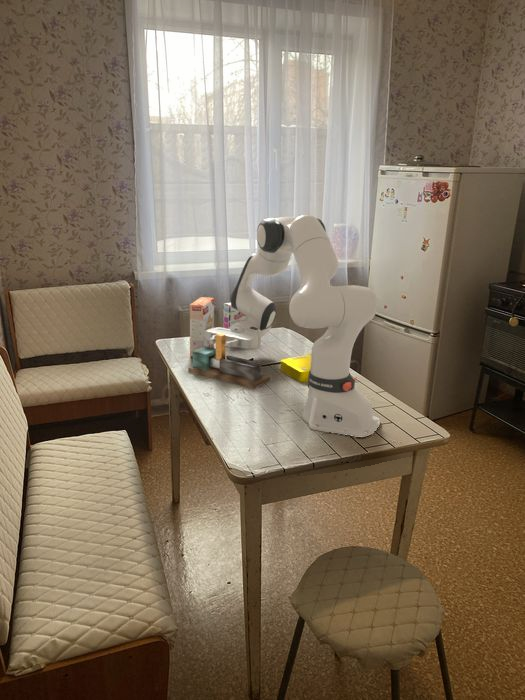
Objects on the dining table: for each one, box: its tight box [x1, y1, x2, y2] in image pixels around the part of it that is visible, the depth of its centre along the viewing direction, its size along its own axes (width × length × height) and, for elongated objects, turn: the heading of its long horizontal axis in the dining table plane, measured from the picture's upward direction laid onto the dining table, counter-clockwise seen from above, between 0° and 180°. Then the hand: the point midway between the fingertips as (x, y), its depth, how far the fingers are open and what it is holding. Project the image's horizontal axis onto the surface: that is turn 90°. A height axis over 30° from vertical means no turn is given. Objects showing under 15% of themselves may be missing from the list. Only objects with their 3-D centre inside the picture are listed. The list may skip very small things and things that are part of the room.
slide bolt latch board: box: [187, 346, 271, 390], centre depth 183 cm, size 28×10×8 cm, turn 58°
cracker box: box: [189, 296, 215, 358], centre depth 204 cm, size 14×6×21 cm, turn 168°
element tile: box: [279, 353, 311, 383], centre depth 188 cm, size 15×15×5 cm
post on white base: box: [209, 333, 232, 369], centre depth 184 cm, size 12×3×12 cm, turn 58°
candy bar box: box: [222, 302, 248, 329], centre depth 221 cm, size 11×5×16 cm, turn 129°
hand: (218, 343), depth 181 cm, fingers open, 5 cm apart
